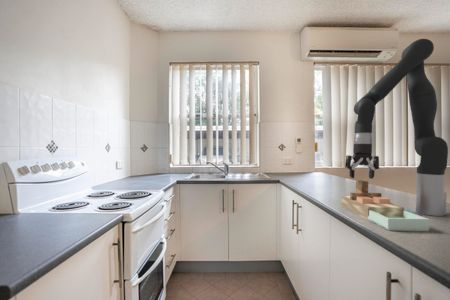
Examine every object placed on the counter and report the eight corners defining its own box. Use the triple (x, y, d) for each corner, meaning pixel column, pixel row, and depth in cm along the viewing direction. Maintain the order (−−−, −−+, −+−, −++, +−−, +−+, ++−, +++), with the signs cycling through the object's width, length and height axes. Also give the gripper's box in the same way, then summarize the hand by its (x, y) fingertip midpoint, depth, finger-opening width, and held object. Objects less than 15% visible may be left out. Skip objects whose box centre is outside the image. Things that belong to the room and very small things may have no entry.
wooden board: (370, 206, 117) (370, 196, 117) (403, 220, 95) (404, 207, 95) (341, 206, 117) (341, 195, 117) (367, 219, 95) (368, 207, 95)
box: (403, 220, 95) (404, 210, 95) (429, 230, 83) (429, 219, 83) (367, 219, 95) (367, 209, 95) (388, 230, 83) (388, 218, 83)
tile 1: (367, 201, 106) (367, 196, 106) (373, 203, 101) (373, 198, 101) (356, 201, 106) (356, 196, 106) (362, 203, 101) (362, 198, 101)
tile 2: (383, 201, 106) (383, 196, 106) (390, 203, 101) (390, 199, 101) (372, 201, 106) (372, 196, 106) (379, 203, 101) (379, 198, 101)
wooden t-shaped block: (372, 197, 115) (372, 180, 115) (381, 200, 108) (381, 182, 108) (344, 196, 115) (345, 180, 115) (351, 199, 108) (352, 182, 108)
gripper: (373, 143, 116) (372, 177, 116) (343, 142, 116) (342, 176, 116) (383, 143, 108) (382, 179, 109) (351, 142, 108) (350, 178, 109)
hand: (361, 178), depth 112 cm, fingers open, 8 cm apart
